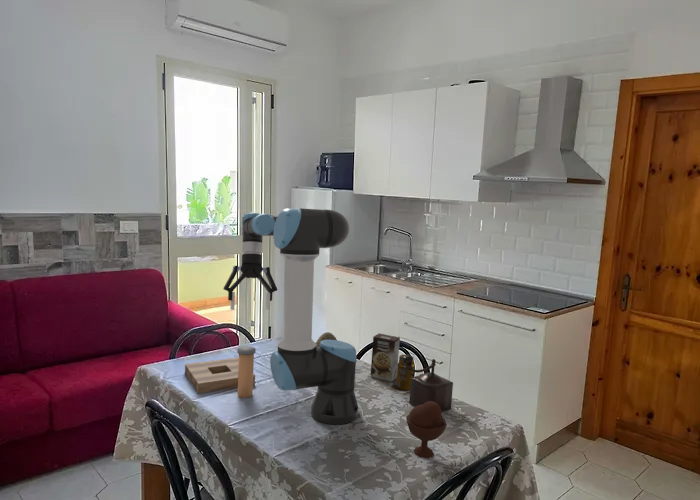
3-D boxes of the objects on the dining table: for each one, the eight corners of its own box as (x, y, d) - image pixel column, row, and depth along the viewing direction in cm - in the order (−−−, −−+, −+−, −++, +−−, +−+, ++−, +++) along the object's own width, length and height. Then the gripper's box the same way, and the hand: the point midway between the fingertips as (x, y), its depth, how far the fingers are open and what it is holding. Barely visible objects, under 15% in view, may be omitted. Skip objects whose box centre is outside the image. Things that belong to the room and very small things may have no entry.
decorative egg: (333, 375, 187) (336, 337, 185) (308, 371, 190) (309, 334, 188) (342, 366, 197) (344, 330, 195) (318, 362, 200) (320, 327, 199)
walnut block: (254, 384, 174) (255, 375, 174) (198, 393, 164) (198, 383, 164) (237, 366, 191) (237, 357, 191) (184, 373, 181) (185, 364, 180)
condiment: (417, 389, 179) (419, 357, 178) (402, 394, 173) (404, 362, 172) (402, 382, 184) (404, 352, 183) (387, 388, 178) (389, 356, 177)
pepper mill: (428, 396, 172) (432, 347, 170) (452, 408, 164) (456, 357, 162) (395, 405, 163) (399, 354, 161) (418, 419, 154) (422, 364, 152)
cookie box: (369, 377, 188) (372, 336, 186) (375, 372, 194) (378, 332, 192) (391, 382, 184) (394, 340, 182) (397, 376, 190) (400, 336, 188)
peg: (256, 396, 164) (258, 350, 162) (239, 399, 161) (240, 352, 159) (250, 389, 169) (252, 345, 167) (233, 392, 166) (235, 347, 164)
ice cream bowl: (438, 443, 140) (442, 393, 138) (447, 464, 129) (452, 410, 127) (401, 441, 139) (405, 391, 138) (407, 463, 128) (411, 409, 127)
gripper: (279, 256, 195) (278, 309, 193) (216, 252, 183) (214, 309, 181) (286, 254, 188) (284, 309, 186) (221, 251, 177) (219, 309, 174)
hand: (250, 309), depth 184 cm, fingers open, 13 cm apart
